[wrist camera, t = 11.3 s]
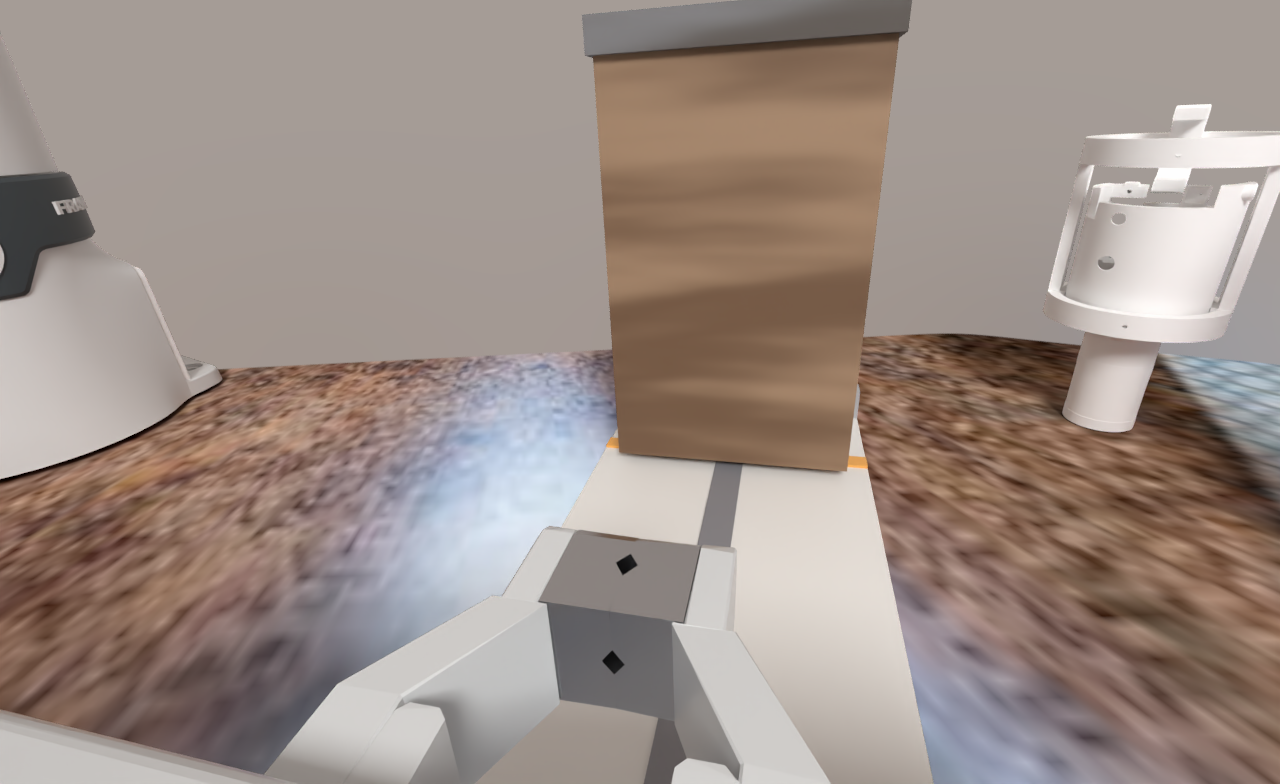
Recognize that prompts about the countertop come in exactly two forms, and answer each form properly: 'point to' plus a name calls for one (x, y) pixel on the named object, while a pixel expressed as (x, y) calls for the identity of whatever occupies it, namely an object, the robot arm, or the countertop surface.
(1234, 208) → the white cylindrical cage holder
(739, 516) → the slide board
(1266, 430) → the countertop surface
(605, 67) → the block
